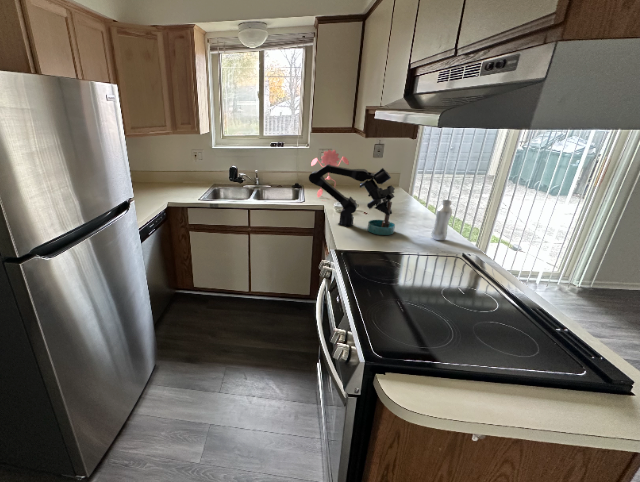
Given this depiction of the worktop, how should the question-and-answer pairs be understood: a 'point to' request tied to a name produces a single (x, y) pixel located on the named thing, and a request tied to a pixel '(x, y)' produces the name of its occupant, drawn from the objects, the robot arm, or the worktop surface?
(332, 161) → the figurine
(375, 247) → the worktop surface
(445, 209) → the plastic bottle
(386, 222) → the post
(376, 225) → the bowl
